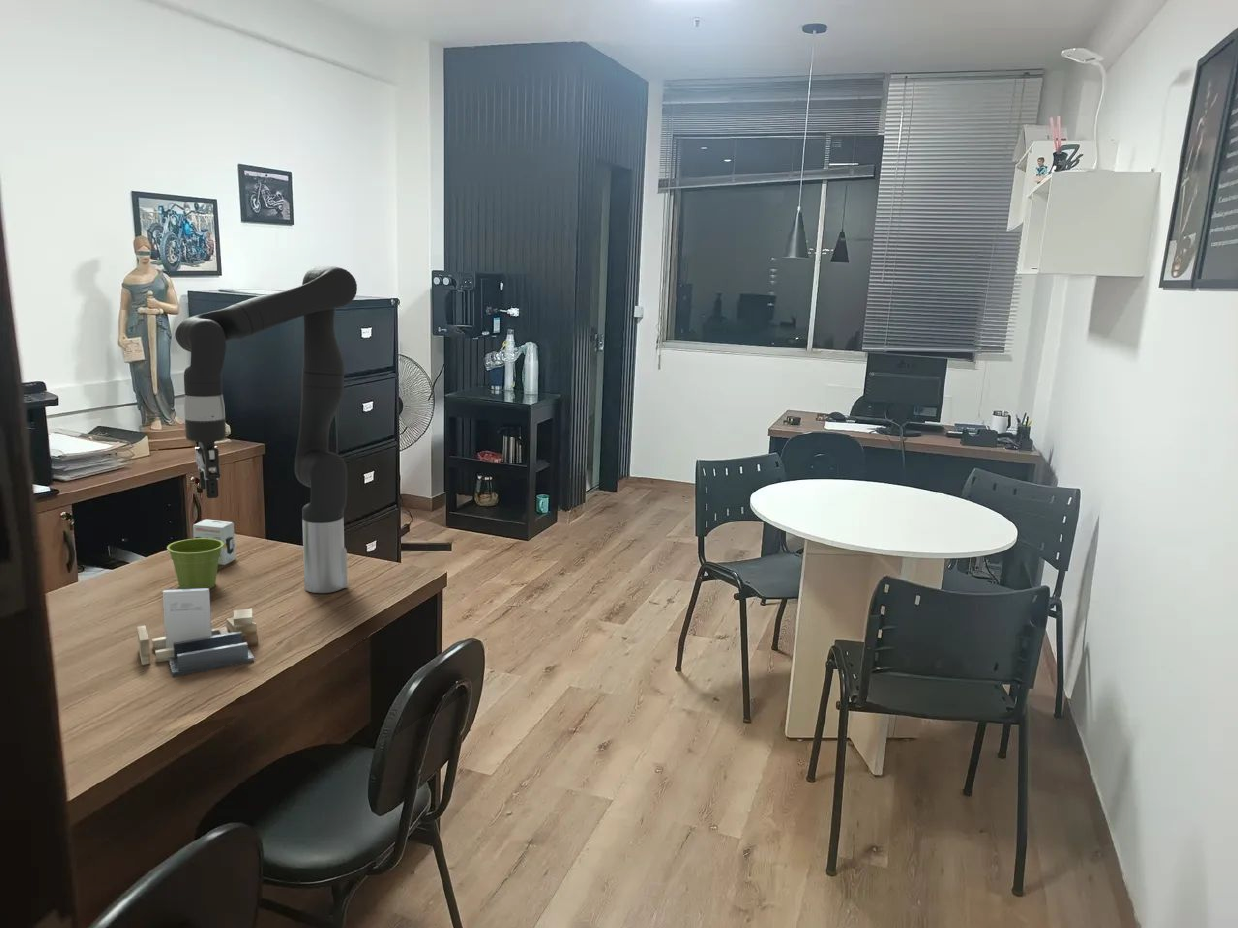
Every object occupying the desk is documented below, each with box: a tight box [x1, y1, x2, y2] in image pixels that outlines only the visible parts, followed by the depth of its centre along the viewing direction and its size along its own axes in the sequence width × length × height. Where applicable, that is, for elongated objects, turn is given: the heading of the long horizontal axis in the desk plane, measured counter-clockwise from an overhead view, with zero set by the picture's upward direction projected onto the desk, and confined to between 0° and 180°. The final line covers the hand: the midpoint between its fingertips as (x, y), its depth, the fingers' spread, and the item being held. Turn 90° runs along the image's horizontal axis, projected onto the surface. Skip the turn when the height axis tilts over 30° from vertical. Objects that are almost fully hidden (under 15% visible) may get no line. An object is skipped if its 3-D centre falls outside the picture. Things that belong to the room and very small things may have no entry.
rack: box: [136, 625, 228, 666], centre depth 168 cm, size 16×7×5 cm, turn 123°
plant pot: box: [166, 538, 224, 590], centre depth 199 cm, size 12×12×11 cm
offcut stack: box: [226, 607, 259, 647], centre depth 174 cm, size 5×7×6 cm
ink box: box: [192, 518, 236, 566], centre depth 215 cm, size 9×5×12 cm, turn 81°
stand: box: [168, 631, 255, 677], centre depth 164 cm, size 14×7×4 cm, turn 123°
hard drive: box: [162, 588, 213, 649], centre depth 168 cm, size 2×8×12 cm, turn 104°
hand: (209, 493), depth 179 cm, fingers open, 8 cm apart
